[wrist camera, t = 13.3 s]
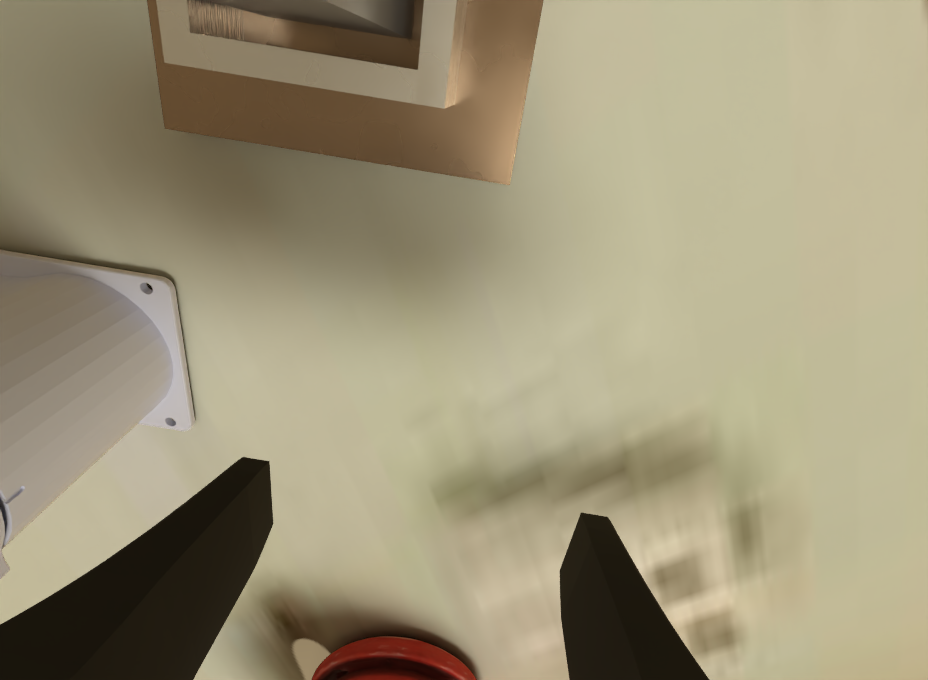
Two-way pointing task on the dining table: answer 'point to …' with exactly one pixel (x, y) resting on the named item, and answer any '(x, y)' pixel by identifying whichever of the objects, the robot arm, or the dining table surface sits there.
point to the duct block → (338, 13)
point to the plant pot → (391, 661)
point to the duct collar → (354, 83)
